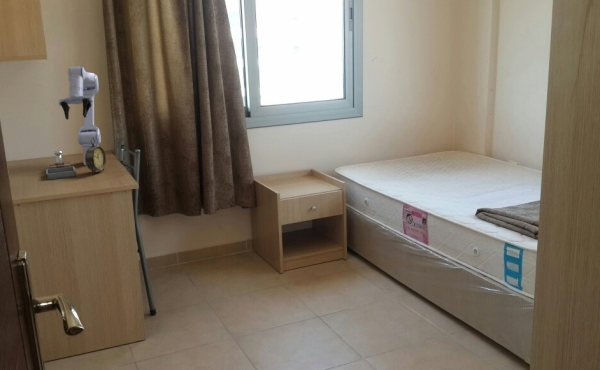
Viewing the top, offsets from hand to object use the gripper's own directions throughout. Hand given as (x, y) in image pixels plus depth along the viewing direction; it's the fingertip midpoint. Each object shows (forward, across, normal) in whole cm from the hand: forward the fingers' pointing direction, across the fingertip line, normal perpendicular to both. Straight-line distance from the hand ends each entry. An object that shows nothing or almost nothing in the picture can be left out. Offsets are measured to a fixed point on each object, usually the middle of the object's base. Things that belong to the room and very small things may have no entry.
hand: (75, 117), depth 274 cm
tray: (+18, -12, +18) cm, 28 cm away
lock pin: (+11, -16, +26) cm, 33 cm away
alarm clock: (+17, +2, +21) cm, 28 cm away
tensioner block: (+11, -16, +26) cm, 33 cm away
